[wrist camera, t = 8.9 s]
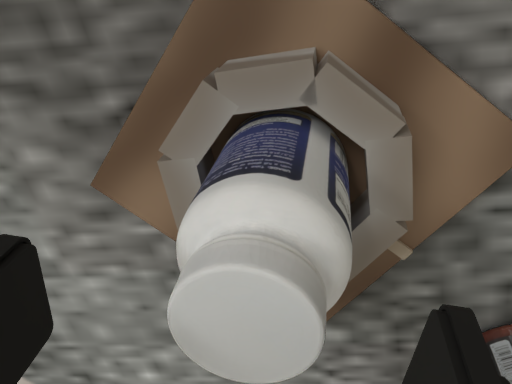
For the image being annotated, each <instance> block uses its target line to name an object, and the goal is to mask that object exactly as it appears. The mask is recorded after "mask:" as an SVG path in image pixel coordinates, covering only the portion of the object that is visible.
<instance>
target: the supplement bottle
mask: <svg viewBox="0 0 512 384" xmlns="http://www.w3.org/2000/svg"><path fill="white" fill-rule="evenodd" d="M482 335H483V337H484V340H485V342H486V345H487V347H488V350H489V352H490V355H491V357H492V360H493V362H494V365H495V367H496V370H497V372H498V375H500V376H503V377H505V378H506V379H507V380H508V381H509V382H510V384H512V325H505V326H501V327H497V328H493V329H490V330H488V331H486V332H483V333H482Z"/></svg>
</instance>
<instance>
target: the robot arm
mask: <svg viewBox="0 0 512 384" xmlns="http://www.w3.org/2000/svg"><path fill="white" fill-rule="evenodd" d="M52 330H53V319H52V315H51V311H50V306H49V302H48V297H47V293H46V289H45V284H44V280H43V275H42V271H41V267H40V262H39V258H38V253H37V249H36V247H35V246H34V245H32V244H31V242H30V240H29V239H28V238H25V237H19V236H12V235H6V234H2V235H0V384H17V382H18V381H19V380H20V378H21V377H22V375H23V374H24V373H25V371H26V370H27V368H28V367H29V366H30V364H31V363H32V361H33V360H34V358H35V357H36V356H37V354H38V353H39V351H40V350H41V349H42V347H43V346H44V344H45V343H46V342H47V340H48V339H49V337H50V335H51V333H52ZM402 384H510V382H509V381H508V380H507V379H506V378H505V377H503V376H500V375H498V372H497V370H496V367H495V365H494V362H493V360H492V357H491V355H490V352H489V350H488V347H487V345H486V342H485V340H484V337H483V335H482V332H481V329H480V327H479V324H478V322H477V319H476V317H475V314H474V313H473V311H472V310H471V309H470V308H464V307H458V306H452V305H446V304H443V305H442V306H441V307H440V308H439V310H435V309H433V310H432V311H431V313H430V315H429V317H428V320H427V322H426V325H425V327H424V330H423V332H422V335H421V337H420V340H419V342H418V345H417V347H416V350H415V352H414V355H413V357H412V360H411V362H410V365H409V367H408V370H407V372H406V375H405V377H404V380H403V382H402Z"/></svg>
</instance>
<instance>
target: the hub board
mask: <svg viewBox="0 0 512 384" xmlns="http://www.w3.org/2000/svg"><path fill="white" fill-rule="evenodd" d="M284 108H286V109H295V110H299V111H303V112H305V113H308V114H311V115H313V116H315V117H317V118H318V119H320V120H321V121H323V122H324V123H325V124H327V125H328V126H329V127H330V128H331V129H332V130H333V132H334V133H335V134H336V135H337V137H338V138H339V140H340V142H341V144H342V146H343V148H344V151H345V154H346V159H347V164H348V177H349V194H350V212H351V228H352V230H351V231H352V268H351V273H350V278H349V280H348V284H347V286H346V288H345V290H344V292H343V294H342V295H341V297H340V298H339V300H338V301H337V302H336V304H335V305H334V306H333V307H332V308H331V309H330V310H328V311H327V312H326V321H328V320H329V319H330V318H331V317H332V316H334V315H335V314H336V313H337V312H338V311H340V310H341V309H342V308H343V307H344V306H346V305H347V304H348V303H349V302H350V301H352V300H353V299H354V298H355V297H357V296H358V295H359V294H360V293H361V292H363V291H364V290H365V289H366V288H367V287H369V286H370V285H371V284H372V283H373V282H375V281H376V280H377V279H378V278H379V277H381V276H382V275H383V274H384V273H385V272H387V271H388V270H389V269H390V268H391V267H393V266H394V265H395V264H396V263H397V262H399V261H400V260H401V259H403V260H405V259H406V258H407V257H408V256H410V255H411V254H412V253H413V249H414V248H415V247H417V246H418V245H419V244H420V243H421V242H423V241H424V240H425V239H426V238H428V237H429V236H430V235H431V234H432V233H434V232H435V231H436V230H437V229H438V228H440V227H441V226H442V225H443V224H444V223H446V222H447V221H448V220H449V219H450V218H452V217H453V216H454V215H455V214H456V213H458V212H459V211H460V210H461V209H462V208H464V207H465V206H466V205H467V204H468V203H470V202H471V201H472V200H473V199H474V198H476V197H477V196H478V195H479V194H480V193H482V192H483V191H484V190H485V189H486V188H488V187H489V186H490V185H491V184H492V183H494V182H495V181H496V180H497V179H499V178H500V177H501V176H502V175H503V174H505V173H506V172H507V171H508V170H509V169H511V168H512V120H511V119H510V118H508V117H507V116H506V115H505V114H504V113H502V112H501V111H500V110H499V109H498V108H496V107H495V106H494V105H493V104H491V103H490V102H489V101H488V100H487V99H485V98H484V97H483V96H482V95H481V94H479V93H478V92H477V91H476V90H475V89H473V88H472V87H471V86H470V85H469V84H467V83H466V82H465V81H464V80H462V79H461V78H460V77H459V76H458V75H456V74H455V73H454V72H453V71H452V70H450V69H449V68H448V67H447V66H446V65H444V64H443V63H442V62H441V61H439V60H438V59H437V58H436V57H435V56H433V55H432V54H431V53H430V52H429V51H427V50H426V49H425V48H424V47H423V46H421V45H420V44H419V43H418V42H416V41H415V40H414V39H413V38H412V37H410V36H409V35H408V34H407V33H406V32H404V31H403V30H402V29H401V28H400V27H398V26H397V25H396V24H395V23H394V22H392V21H391V20H390V19H389V18H387V17H386V16H385V15H384V14H383V13H381V12H380V11H379V10H378V9H377V8H375V7H374V6H373V5H372V4H371V3H369V2H368V1H367V0H193V2H192V4H191V5H190V7H189V9H188V11H187V12H186V14H185V16H184V18H183V20H182V21H181V23H180V25H179V27H178V29H177V30H176V32H175V34H174V36H173V38H172V39H171V41H170V43H169V45H168V47H167V48H166V50H165V52H164V54H163V56H162V57H161V59H160V61H159V63H158V65H157V66H156V68H155V70H154V72H153V73H152V75H151V77H150V79H149V81H148V82H147V84H146V86H145V88H144V90H143V91H142V93H141V95H140V97H139V99H138V100H137V102H136V104H135V106H134V108H133V109H132V111H131V113H130V115H129V117H128V118H127V120H126V122H125V124H124V126H123V127H122V129H121V131H120V133H119V134H118V136H117V138H116V140H115V142H114V143H113V145H112V147H111V149H110V151H109V152H108V154H107V156H106V158H105V160H104V161H103V163H102V165H101V167H100V169H99V170H98V172H97V174H96V176H95V178H94V179H93V181H92V183H91V186H92V187H94V188H95V189H97V190H98V191H100V192H101V193H103V194H104V195H106V196H108V197H109V198H111V199H112V200H114V201H115V202H117V203H118V204H120V205H121V206H123V207H124V208H126V209H127V210H129V211H130V212H132V213H133V214H135V215H136V216H138V217H139V218H141V219H142V220H144V221H145V222H147V223H149V224H150V225H152V226H153V227H155V228H156V229H158V230H159V231H161V232H162V233H164V234H165V235H167V236H168V237H170V238H171V239H173V240H174V241H177V234H178V231H179V227H180V225H181V222H182V220H183V218H184V215H185V214H186V212H187V210H188V208H189V205H190V204H191V202H192V200H193V199H194V197H195V195H196V194H197V192H198V191H199V189H200V187H201V185H202V184H203V182H204V181H205V179H206V177H207V176H208V174H209V172H210V170H211V169H212V167H213V165H214V164H215V162H216V160H217V158H218V157H219V155H220V153H221V151H222V150H223V148H224V146H225V145H226V143H227V141H228V139H229V138H230V136H231V135H232V134H233V132H234V131H235V130H236V129H237V128H238V127H239V126H240V125H241V124H242V123H243V122H244V121H245V120H247V119H248V118H250V117H251V116H253V115H255V114H257V113H260V112H263V111H267V110H275V109H284Z"/></svg>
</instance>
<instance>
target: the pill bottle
mask: <svg viewBox="0 0 512 384" xmlns="http://www.w3.org/2000/svg"><path fill="white" fill-rule="evenodd" d="M351 230H352V228H351V212H350V194H349V177H348V164H347V159H346V154H345V151H344V148H343V146H342V144H341V142H340V140H339V138H338V137H337V135H336V134H335V133H334V132H333V130H332V129H331V128H330V127H329V126H328V125H327V124H325V123H324V122H323V121H321V120H320V119H318V118H317V117H315V116H313V115H311V114H308V113H305V112H303V111H299V110H295V109H286V108H284V109H275V110H267V111H263V112H260V113H257V114H255V115H253V116H251V117H250V118H248V119H247V120H245V121H244V122H243V123H242V124H241V125H240V126H239V127H238V128H237V129H236V130H235V131H234V132H233V134H232V135H231V136H230V138H229V139H228V141H227V143H226V145H225V146H224V148H223V150H222V151H221V153H220V155H219V157H218V158H217V160H216V162H215V164H214V165H213V167H212V169H211V170H210V172H209V174H208V176H207V177H206V179H205V181H204V182H203V184H202V185H201V187H200V189H199V191H198V192H197V194H196V195H195V197H194V199H193V200H192V202H191V204H190V205H189V208H188V210H187V212H186V214H185V215H184V218H183V220H182V222H181V225H180V227H179V231H178V234H177V241H176V254H177V262H178V266H179V269H180V272H181V273H180V276H179V279H178V281H177V283H176V285H175V287H174V290H173V292H172V294H171V296H170V299H169V302H168V308H167V320H168V325H169V329H170V331H171V334H172V336H173V338H174V340H175V342H176V343H177V345H178V346H179V347H180V349H181V350H182V351H183V352H184V353H185V354H186V355H187V356H188V357H189V358H190V359H191V360H192V361H194V362H195V363H196V364H198V365H199V366H201V367H202V368H204V369H206V370H207V371H209V372H211V373H213V374H216V375H218V376H220V377H223V378H226V379H229V380H233V381H238V382H243V383H253V384H266V383H275V382H280V381H284V380H287V379H290V378H293V377H295V376H297V375H299V374H301V373H302V372H304V371H305V370H307V369H308V368H309V367H310V366H311V365H312V364H313V363H314V362H315V361H316V359H317V358H318V356H319V355H320V353H321V351H322V348H323V345H324V342H325V334H326V312H327V311H328V310H330V309H331V308H332V307H333V306H334V305H335V304H336V302H337V301H338V300H339V298H340V297H341V295H342V294H343V292H344V290H345V288H346V286H347V284H348V280H349V278H350V273H351V268H352V231H351Z"/></svg>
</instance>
